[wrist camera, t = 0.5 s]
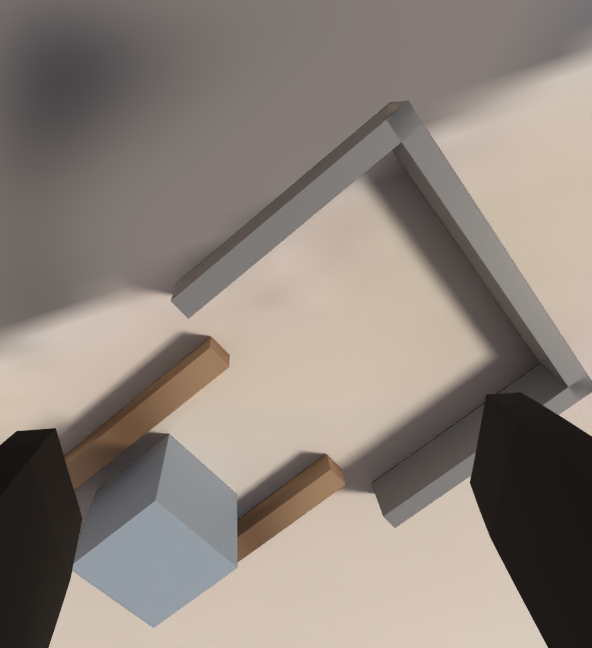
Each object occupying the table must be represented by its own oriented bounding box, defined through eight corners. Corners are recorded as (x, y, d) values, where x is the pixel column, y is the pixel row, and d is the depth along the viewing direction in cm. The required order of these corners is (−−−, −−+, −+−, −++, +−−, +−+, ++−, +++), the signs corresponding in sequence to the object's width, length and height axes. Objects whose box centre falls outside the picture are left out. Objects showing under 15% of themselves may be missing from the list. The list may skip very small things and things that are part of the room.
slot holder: (165, 597, 24) (162, 616, 23) (21, 491, 21) (11, 508, 20) (341, 469, 22) (345, 484, 21) (211, 336, 20) (210, 347, 19)
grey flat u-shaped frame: (382, 494, 23) (394, 528, 21) (177, 282, 19) (170, 300, 17) (565, 364, 22) (596, 388, 20) (390, 102, 17) (408, 100, 15)
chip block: (166, 545, 23) (153, 628, 19) (96, 490, 22) (68, 567, 18) (237, 493, 22) (237, 567, 19) (169, 432, 21) (155, 500, 17)
